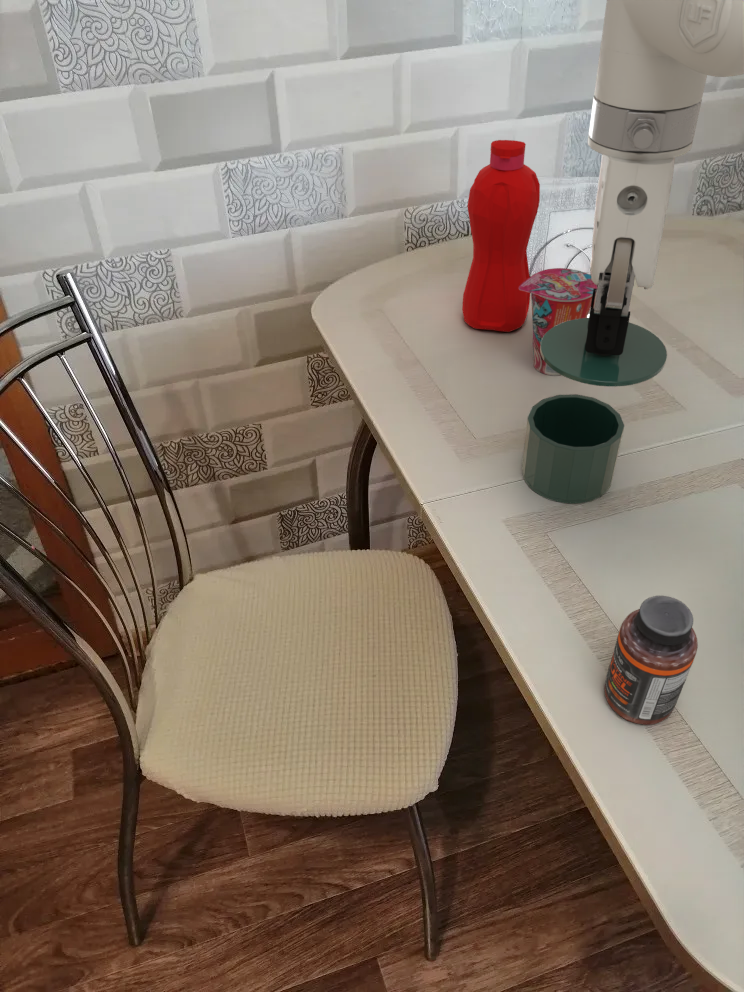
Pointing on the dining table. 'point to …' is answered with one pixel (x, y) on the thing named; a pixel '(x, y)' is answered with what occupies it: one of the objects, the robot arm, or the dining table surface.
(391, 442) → the dining table surface
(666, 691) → the supplement bottle
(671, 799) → the dining table surface
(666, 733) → the dining table surface
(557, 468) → the pot
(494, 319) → the water bottle
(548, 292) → the cup
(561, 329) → the lid
